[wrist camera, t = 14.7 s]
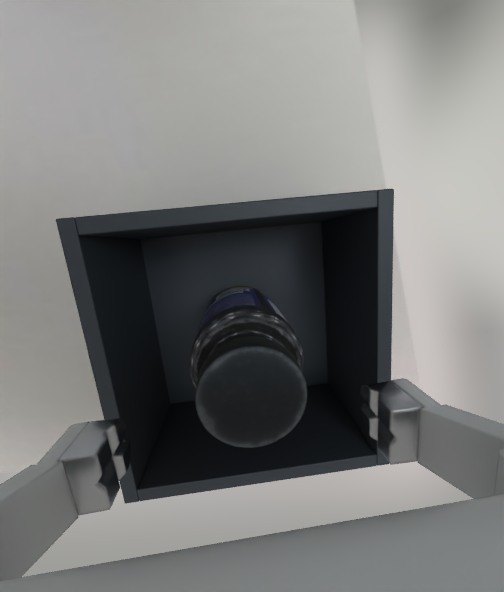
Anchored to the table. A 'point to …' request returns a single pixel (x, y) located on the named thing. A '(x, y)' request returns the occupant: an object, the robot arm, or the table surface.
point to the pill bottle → (247, 370)
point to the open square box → (189, 313)
